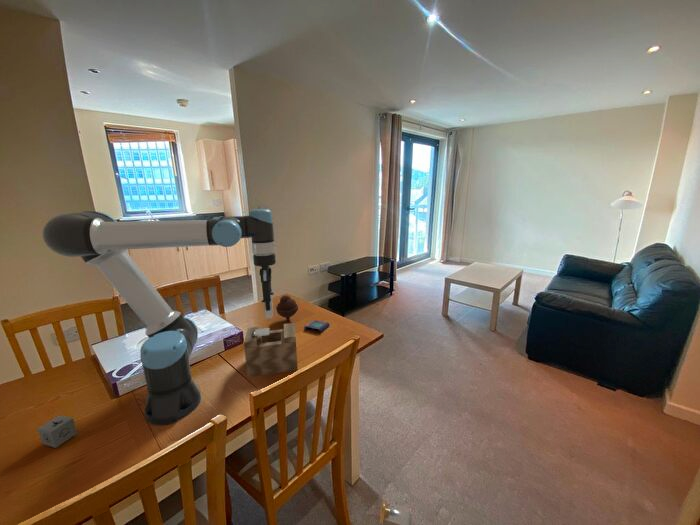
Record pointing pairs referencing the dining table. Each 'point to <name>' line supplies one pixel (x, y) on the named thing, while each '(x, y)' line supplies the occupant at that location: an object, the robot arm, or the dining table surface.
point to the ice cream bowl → (287, 307)
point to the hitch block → (271, 351)
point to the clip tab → (260, 332)
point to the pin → (394, 515)
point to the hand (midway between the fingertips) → (269, 314)
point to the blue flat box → (317, 325)
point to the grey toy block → (57, 431)
